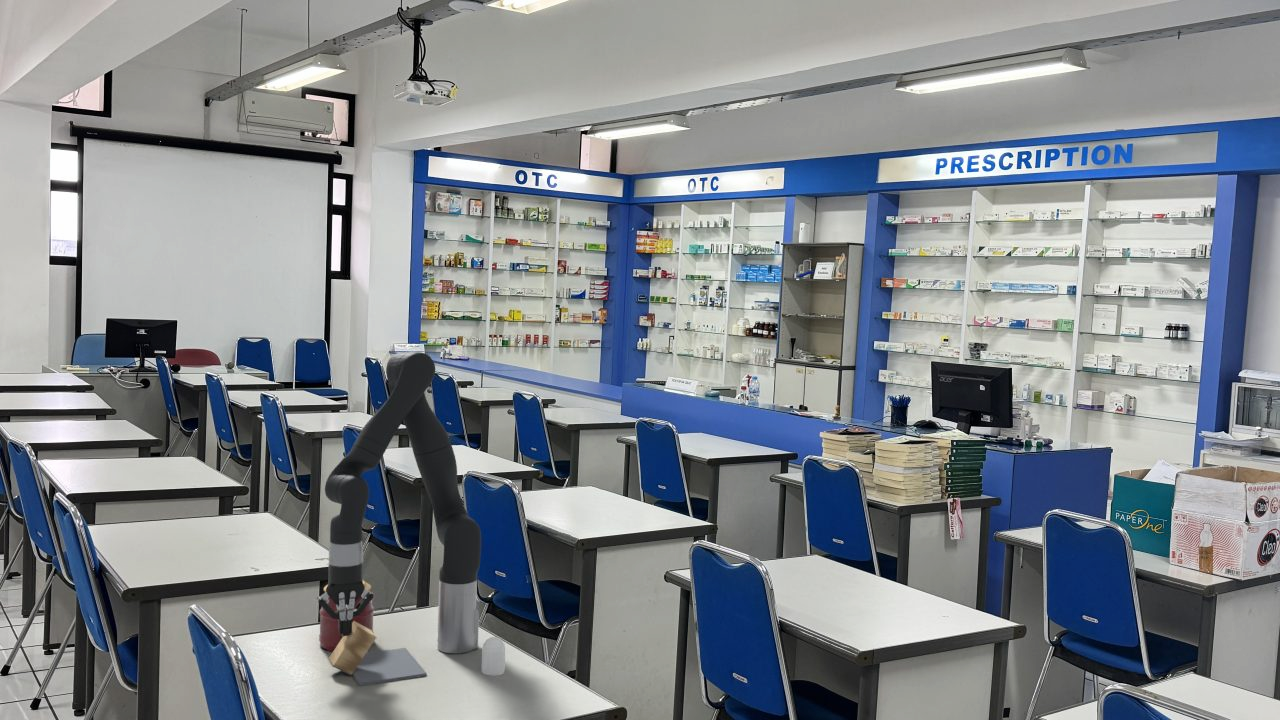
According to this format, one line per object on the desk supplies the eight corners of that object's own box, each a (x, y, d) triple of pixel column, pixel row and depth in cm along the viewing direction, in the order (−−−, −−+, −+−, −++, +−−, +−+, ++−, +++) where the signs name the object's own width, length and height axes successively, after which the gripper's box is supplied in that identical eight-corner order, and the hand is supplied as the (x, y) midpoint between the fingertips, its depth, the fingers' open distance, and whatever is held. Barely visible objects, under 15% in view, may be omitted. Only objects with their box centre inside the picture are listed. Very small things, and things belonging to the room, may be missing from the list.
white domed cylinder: (508, 673, 236) (509, 639, 236) (486, 676, 234) (487, 642, 233) (499, 665, 241) (500, 632, 240) (478, 669, 238) (479, 635, 238)
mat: (405, 650, 249) (405, 647, 249) (426, 675, 233) (426, 673, 233) (342, 658, 241) (342, 656, 241) (359, 685, 226) (359, 683, 226)
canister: (376, 634, 259) (377, 566, 258) (369, 652, 246) (371, 581, 245) (323, 634, 257) (325, 566, 256) (314, 653, 244) (315, 581, 243)
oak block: (346, 668, 236) (371, 630, 238) (351, 675, 231) (376, 637, 233) (328, 658, 233) (353, 620, 235) (332, 666, 229) (358, 627, 231)
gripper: (371, 553, 238) (370, 626, 239) (312, 559, 231) (311, 633, 232) (379, 561, 231) (377, 636, 232) (319, 567, 225) (318, 644, 226)
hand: (344, 634), depth 232 cm, fingers closed
